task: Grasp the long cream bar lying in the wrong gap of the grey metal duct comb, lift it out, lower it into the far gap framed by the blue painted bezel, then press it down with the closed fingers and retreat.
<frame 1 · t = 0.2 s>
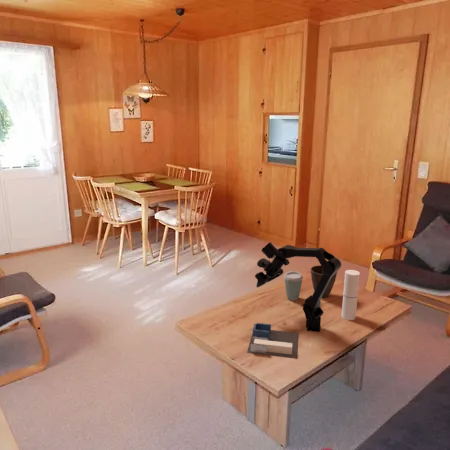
hand: (262, 284, 219), 15 cm above the table, tool tilted 30°, fingers open, 9 cm apart
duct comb: (273, 343, 191), on the table
cylindrical container: (348, 317, 216), on the table
disposable coffee cup: (292, 298, 237), on the table
long cream bar: (272, 350, 185), point 1 cm above the table, touching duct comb
plant pot: (322, 295, 241), on the table
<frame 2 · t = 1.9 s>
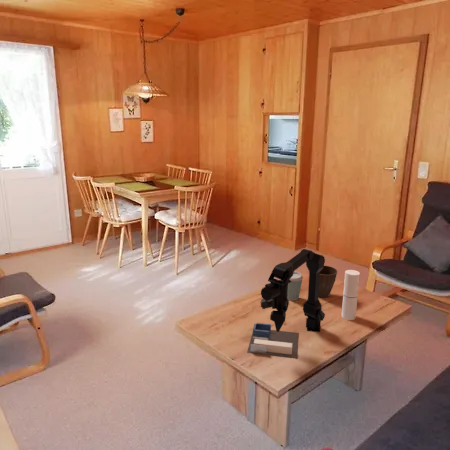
hand: (278, 326, 182), 12 cm above the table, tool pointing down, fingers open, 9 cm apart
nothing on the table moved.
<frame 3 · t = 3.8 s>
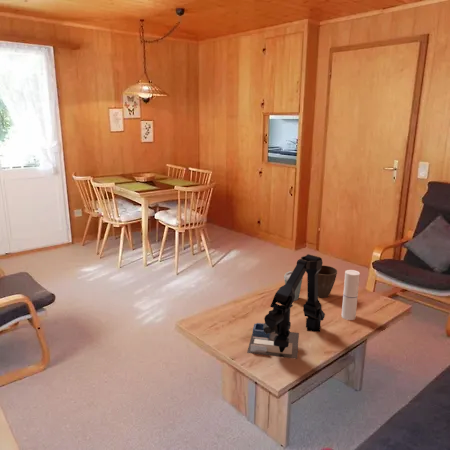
hand: (281, 349, 184), 1 cm above the table, tool pointing down, fingers closed on long cream bar, 3 cm apart
long cream bar: (272, 350, 185), point 1 cm above the table, touching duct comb, gripper
everything else where it was.
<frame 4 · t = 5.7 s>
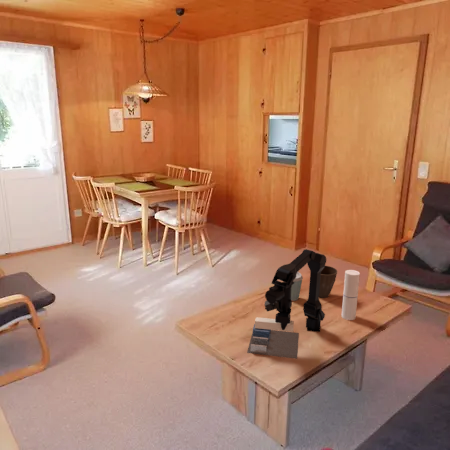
hand: (283, 327, 183), 11 cm above the table, tool pointing down, fingers closed on long cream bar, 3 cm apart
long cream bar: (274, 327, 184), point 11 cm above the table, touching gripper
everything else where it was.
when the fingers open (2 cm above the table, at t = 7.8 s): long cream bar drops 1 cm, resting on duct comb.
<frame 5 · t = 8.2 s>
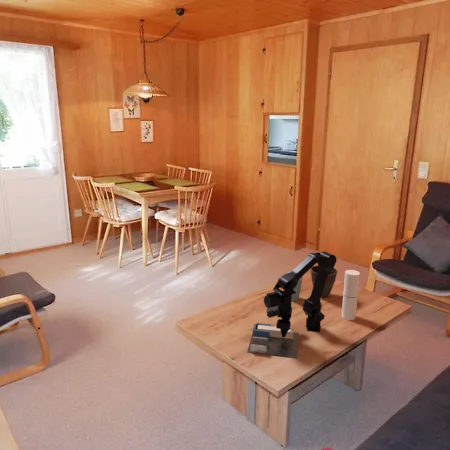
hand: (283, 333, 196), 2 cm above the table, tool pointing down, fingers open, 7 cm apart
long cream bar: (275, 335, 197), point 1 cm above the table, touching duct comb
everything else where it was.
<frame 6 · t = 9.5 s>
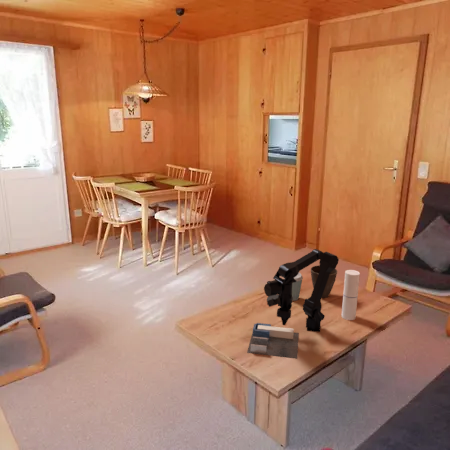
hand: (284, 322, 194), 8 cm above the table, tool pointing down, fingers open, 5 cm apart
nothing on the table moved.
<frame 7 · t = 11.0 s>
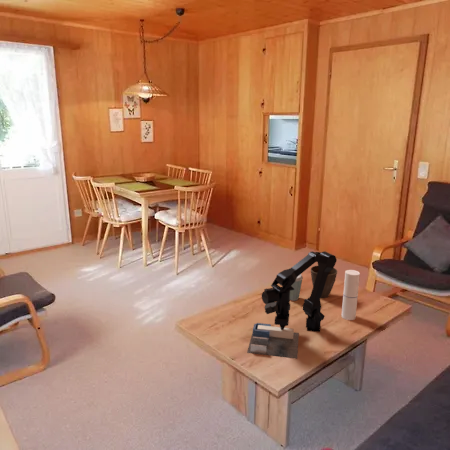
hand: (282, 329, 195), 4 cm above the table, tool pointing down, fingers closed, pressing on long cream bar
long cream bar: (275, 335, 197), point 1 cm above the table, touching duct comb, gripper
everything else where it was.
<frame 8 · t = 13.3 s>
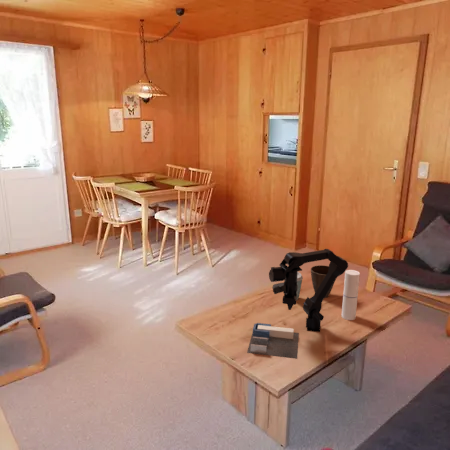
hand: (289, 309, 198), 12 cm above the table, tool pointing down, fingers closed
long cream bar: (275, 335, 197), point 1 cm above the table, touching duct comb
everything else where it was.
at the end: long cream bar 0.0 cm from the target spot, point 0.6 cm above the table; long cream bar tilted 0°; the gripper is holding nothing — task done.
